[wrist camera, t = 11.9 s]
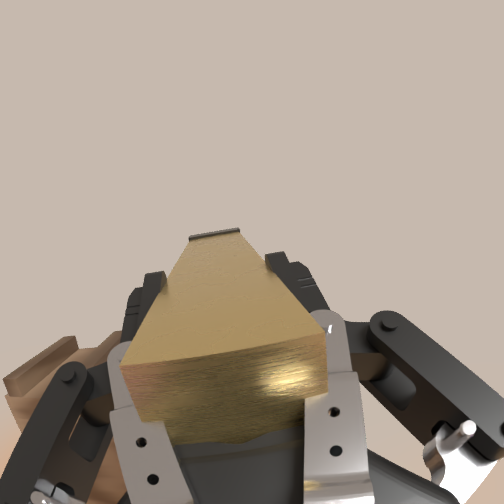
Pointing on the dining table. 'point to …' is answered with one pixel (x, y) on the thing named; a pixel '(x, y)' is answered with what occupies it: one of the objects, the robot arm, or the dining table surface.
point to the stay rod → (224, 348)
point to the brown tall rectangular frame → (30, 392)
